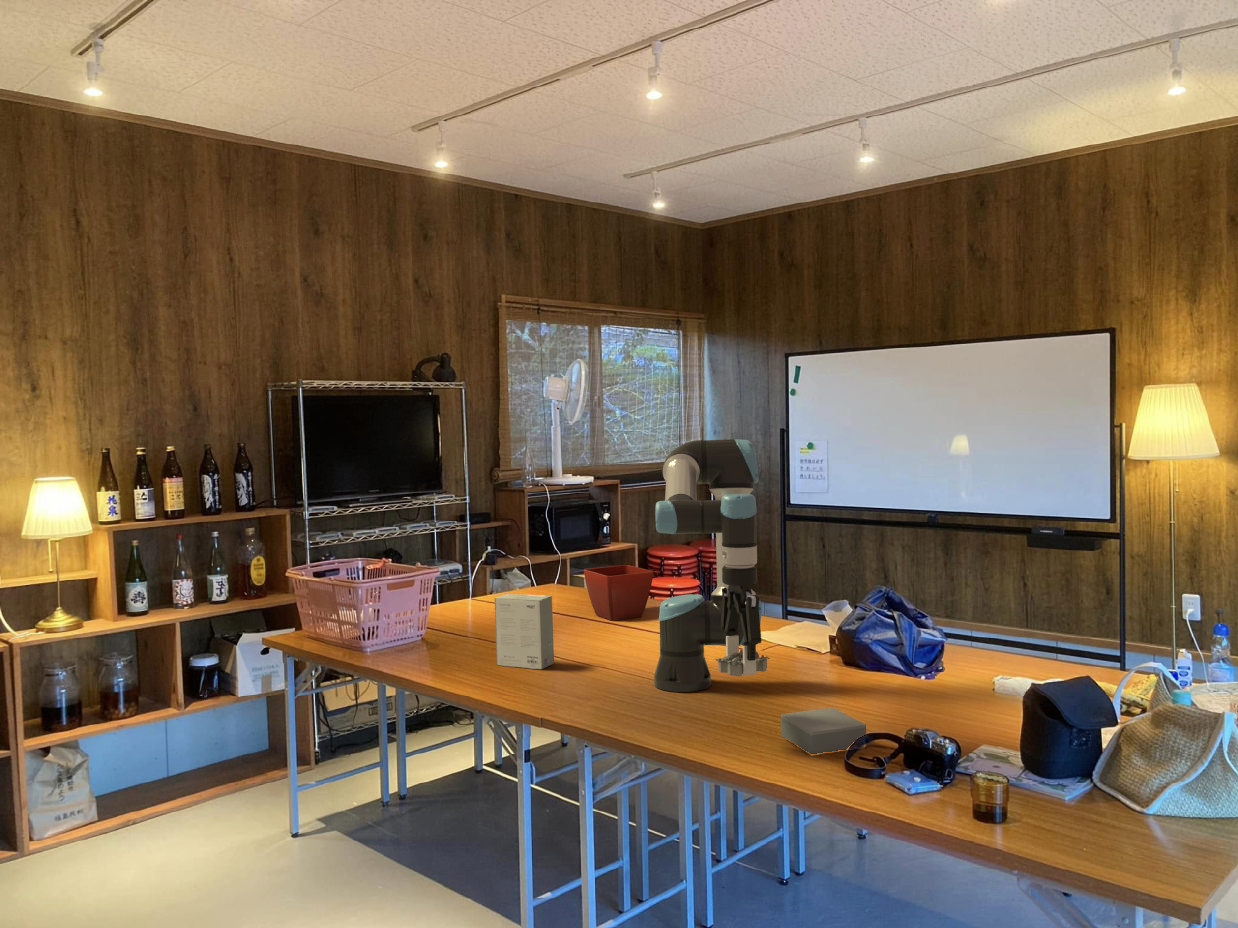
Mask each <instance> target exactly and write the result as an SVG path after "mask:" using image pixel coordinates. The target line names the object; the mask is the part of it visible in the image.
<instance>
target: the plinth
mask: <svg viewBox="0 0 1238 928" xmlns="http://www.w3.org/2000/svg"><path fill="white" fill-rule="evenodd" d="M864 735H866V736H867V724H866V723H864V722H862V721H860V720H858V719H856V718H854V717H852V716H850V715H848V714H846V713H844V712H842V711H840V710H838V709H836V708H835V707H828V708H819V709H818V708H817V709H811V710H810V709H809V710H805V711H796V712H787V713H781V714H780V737H781V736H782V737H785V738H786V739H788V740H790V741H791V742H793V743H794V744H796V745H798V746H799V747H801V748H802V749H804V750H805V751H807V752H809V753H810V754H817V753H823V752H832V751H838V750H846V749H847V748H848V747H849V746H850V745H851V744H852V743H853V742H855V740H856V739H857V738H859V737H862V736H864ZM782 737H781V738H782Z"/></svg>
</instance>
